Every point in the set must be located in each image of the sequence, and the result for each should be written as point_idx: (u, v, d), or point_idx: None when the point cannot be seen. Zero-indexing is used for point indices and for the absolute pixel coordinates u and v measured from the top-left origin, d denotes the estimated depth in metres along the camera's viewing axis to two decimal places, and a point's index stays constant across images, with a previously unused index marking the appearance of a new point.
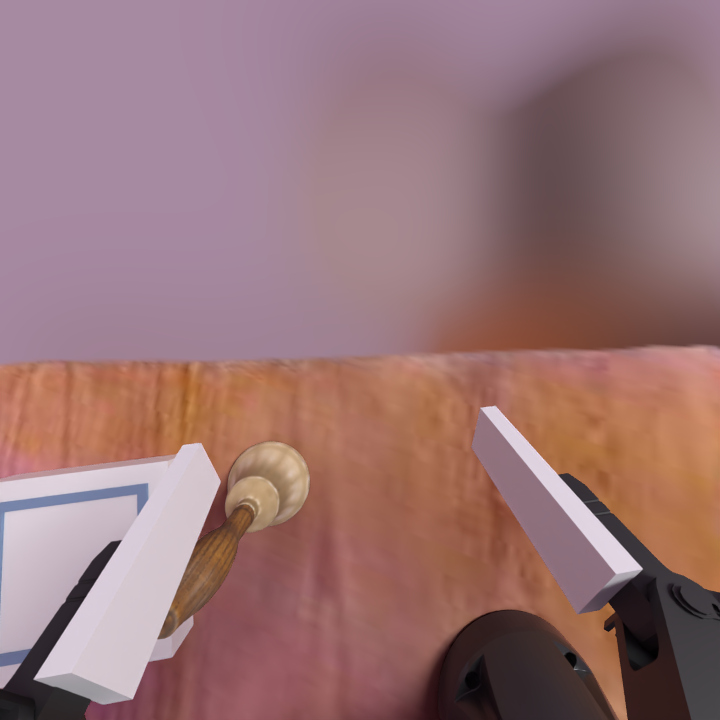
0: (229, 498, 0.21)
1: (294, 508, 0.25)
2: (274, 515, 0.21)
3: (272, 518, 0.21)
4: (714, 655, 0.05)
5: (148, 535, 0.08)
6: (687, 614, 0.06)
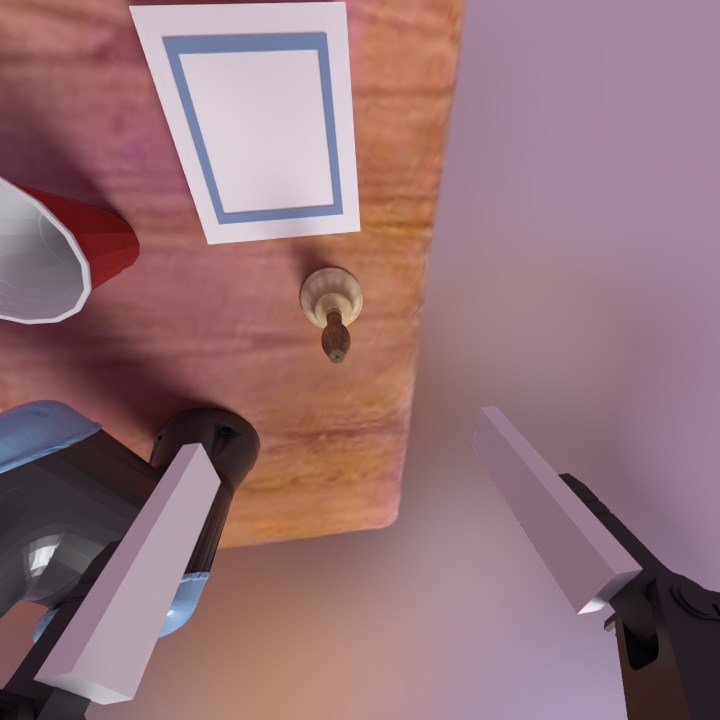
0: (339, 298, 0.28)
1: (316, 322, 0.34)
2: None
3: (324, 327, 0.30)
4: (714, 655, 0.05)
5: (148, 535, 0.08)
6: (687, 614, 0.06)
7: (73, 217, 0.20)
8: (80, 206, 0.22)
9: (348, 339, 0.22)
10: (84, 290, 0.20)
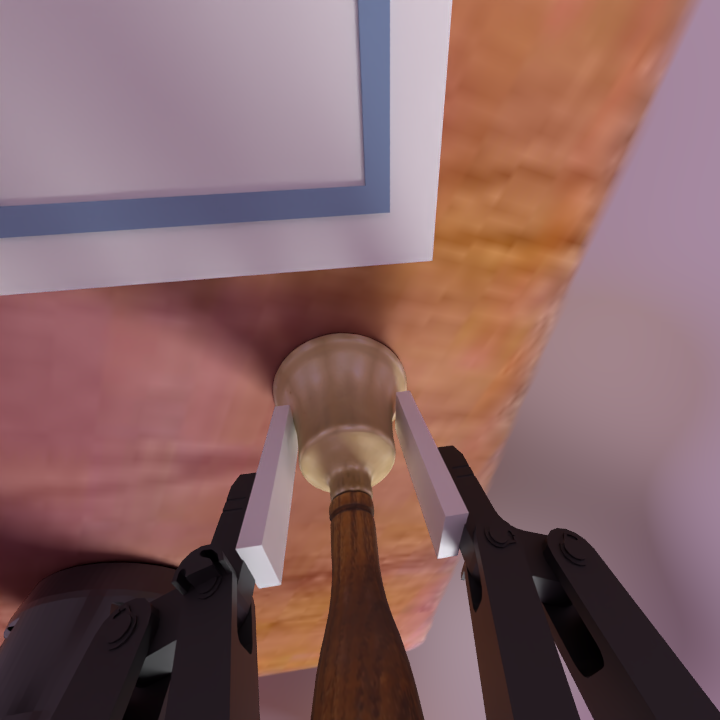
0: (365, 439, 0.10)
1: None
2: (328, 491, 0.12)
3: (324, 490, 0.12)
4: (510, 575, 0.07)
5: (276, 466, 0.10)
6: (494, 549, 0.07)
7: None
8: None
9: None
10: None
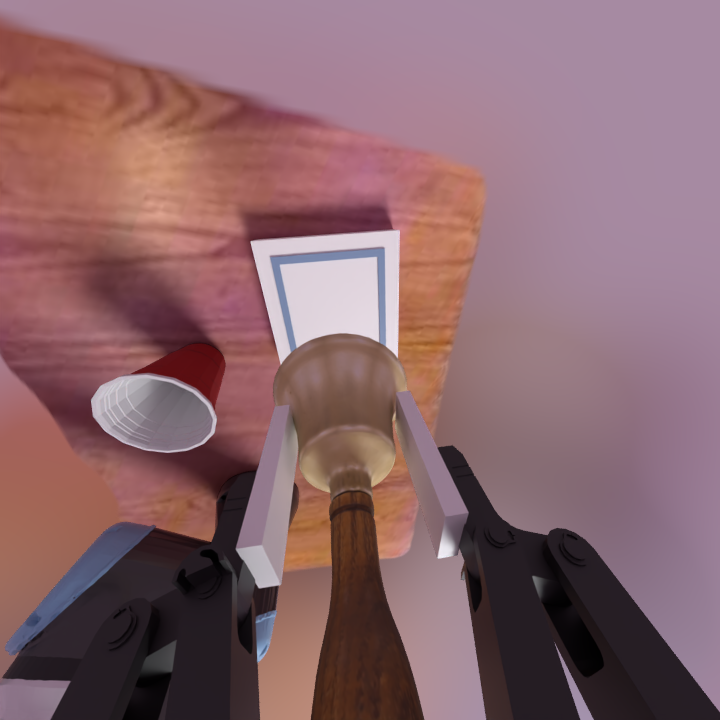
0: (365, 439, 0.10)
1: None
2: (328, 491, 0.12)
3: (324, 490, 0.12)
4: (510, 575, 0.07)
5: (276, 466, 0.10)
6: (494, 549, 0.07)
7: (203, 380, 0.28)
8: (200, 361, 0.30)
9: None
10: (210, 432, 0.28)
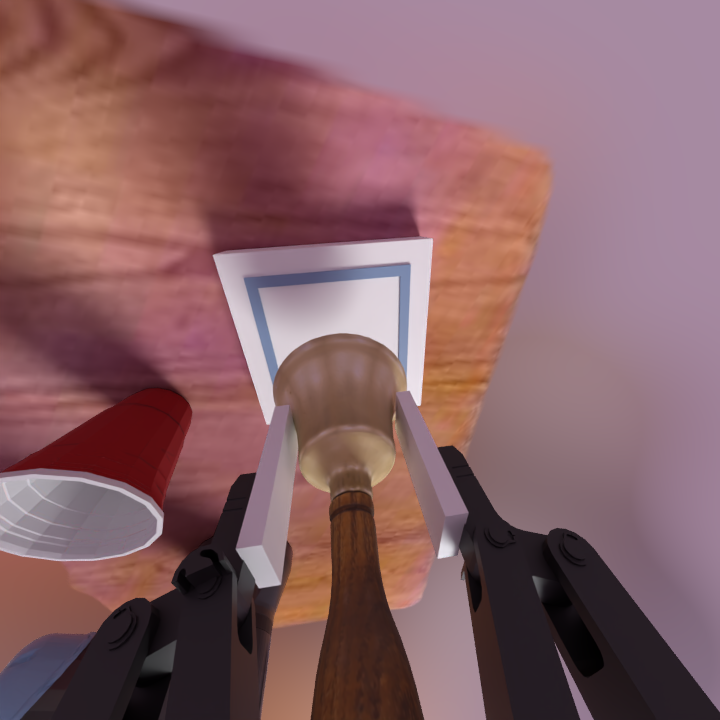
0: (365, 439, 0.10)
1: None
2: (328, 491, 0.12)
3: (324, 490, 0.12)
4: (510, 575, 0.07)
5: (276, 466, 0.10)
6: (494, 549, 0.07)
7: (146, 457, 0.19)
8: (147, 422, 0.21)
9: None
10: (156, 533, 0.19)
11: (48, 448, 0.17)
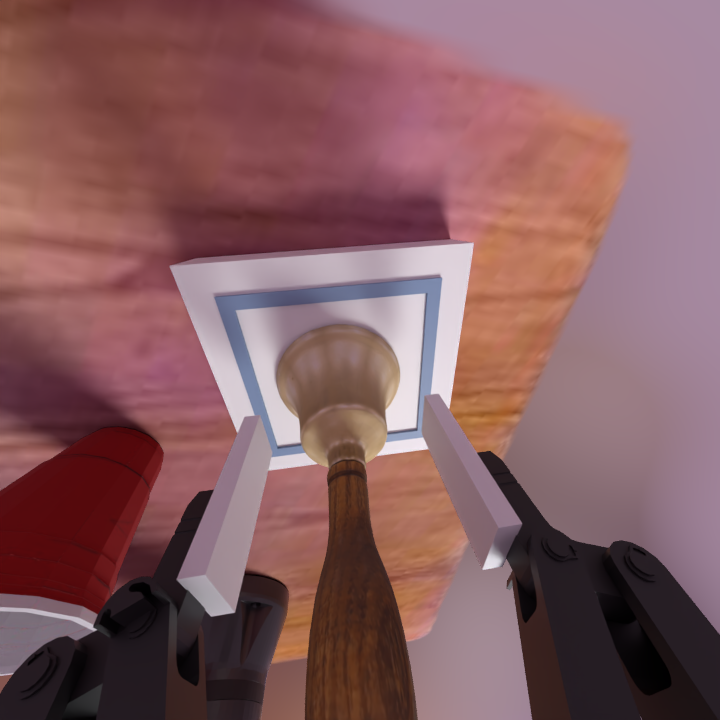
0: (359, 416, 0.12)
1: None
2: (327, 466, 0.13)
3: (323, 465, 0.13)
4: (571, 591, 0.06)
5: (235, 484, 0.09)
6: (552, 561, 0.07)
7: (84, 539, 0.14)
8: (92, 483, 0.16)
9: None
10: None
11: None
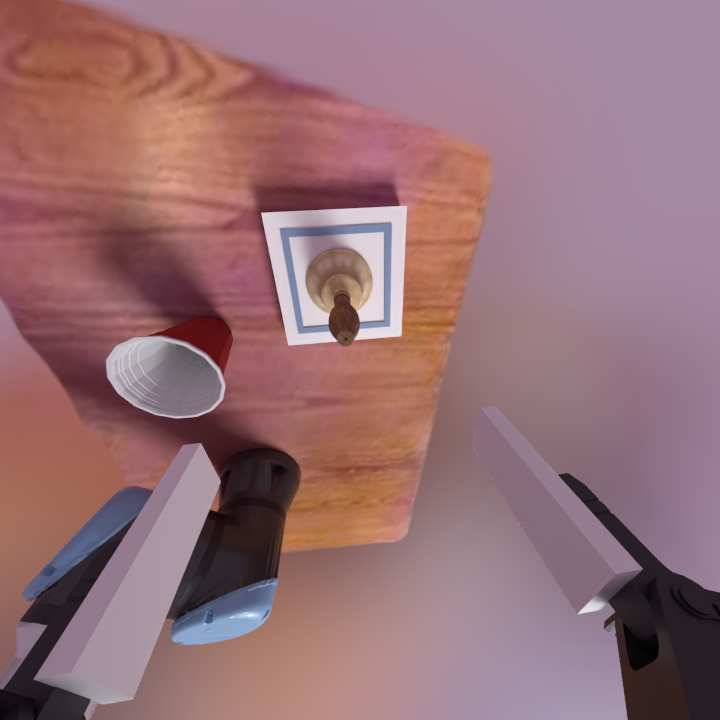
0: (348, 280, 0.26)
1: (322, 307, 0.32)
2: None
3: (331, 311, 0.28)
4: (714, 655, 0.05)
5: (148, 535, 0.08)
6: (687, 614, 0.06)
7: (213, 348, 0.29)
8: (209, 331, 0.31)
9: (358, 321, 0.20)
10: (219, 399, 0.29)
11: (157, 332, 0.26)
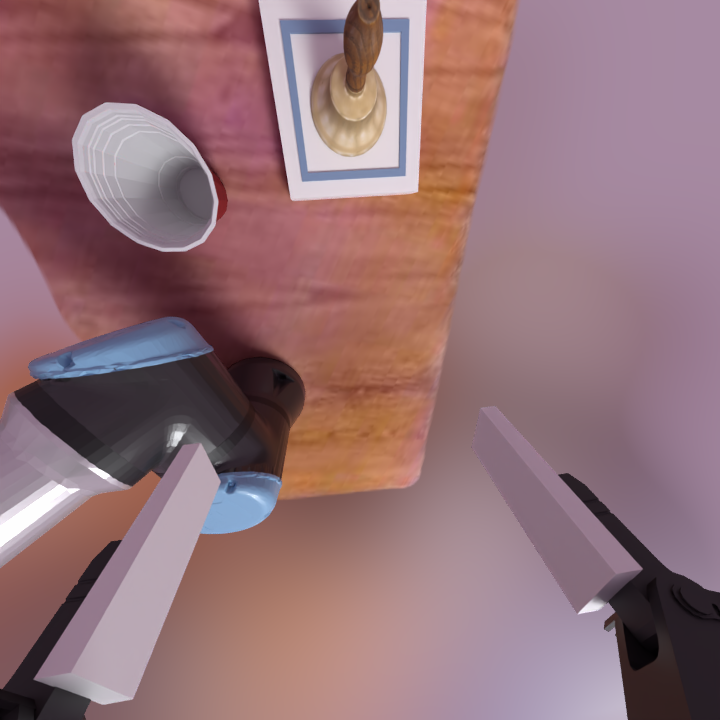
0: None
1: (329, 137, 0.28)
2: (343, 115, 0.24)
3: (341, 112, 0.24)
4: (715, 655, 0.05)
5: (148, 535, 0.08)
6: (687, 614, 0.06)
7: None
8: None
9: (381, 19, 0.16)
10: (211, 223, 0.25)
11: None
